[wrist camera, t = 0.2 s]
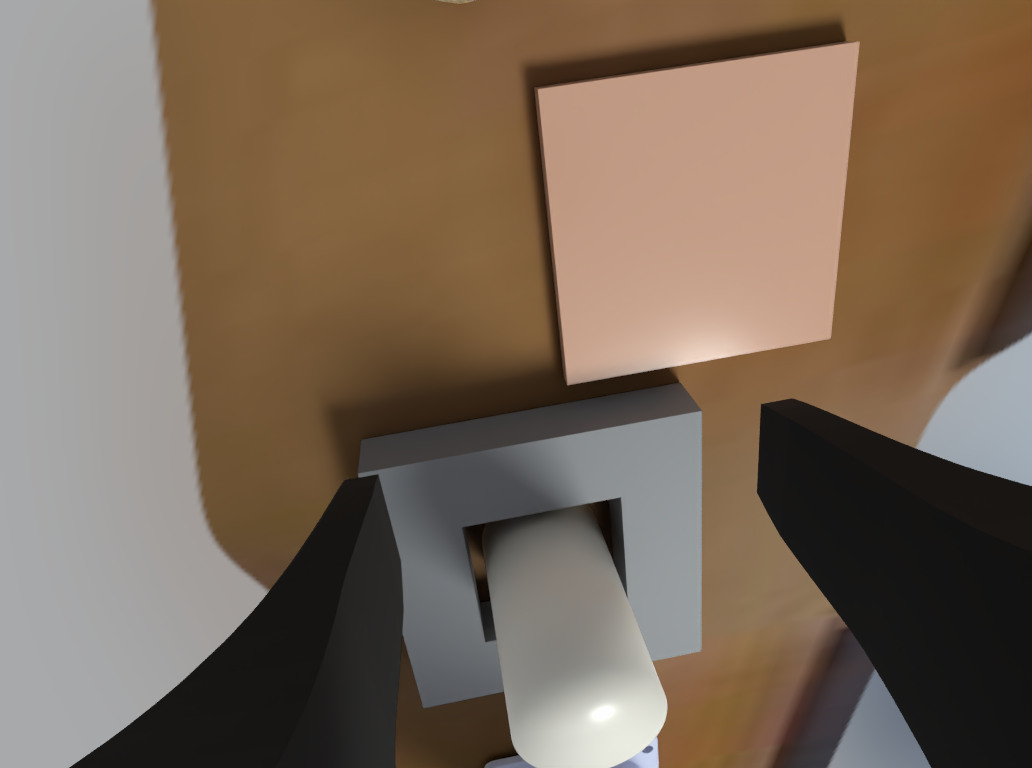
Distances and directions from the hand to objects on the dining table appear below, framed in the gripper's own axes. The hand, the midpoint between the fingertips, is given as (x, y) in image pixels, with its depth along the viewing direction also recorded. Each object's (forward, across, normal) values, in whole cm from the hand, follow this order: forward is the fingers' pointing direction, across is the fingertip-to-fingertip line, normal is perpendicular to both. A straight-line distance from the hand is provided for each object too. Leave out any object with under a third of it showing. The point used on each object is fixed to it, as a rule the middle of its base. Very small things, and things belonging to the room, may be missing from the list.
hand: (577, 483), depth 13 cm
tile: (+10, -6, -2) cm, 12 cm away
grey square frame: (+10, 0, +10) cm, 14 cm away
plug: (+10, 0, +10) cm, 14 cm away
